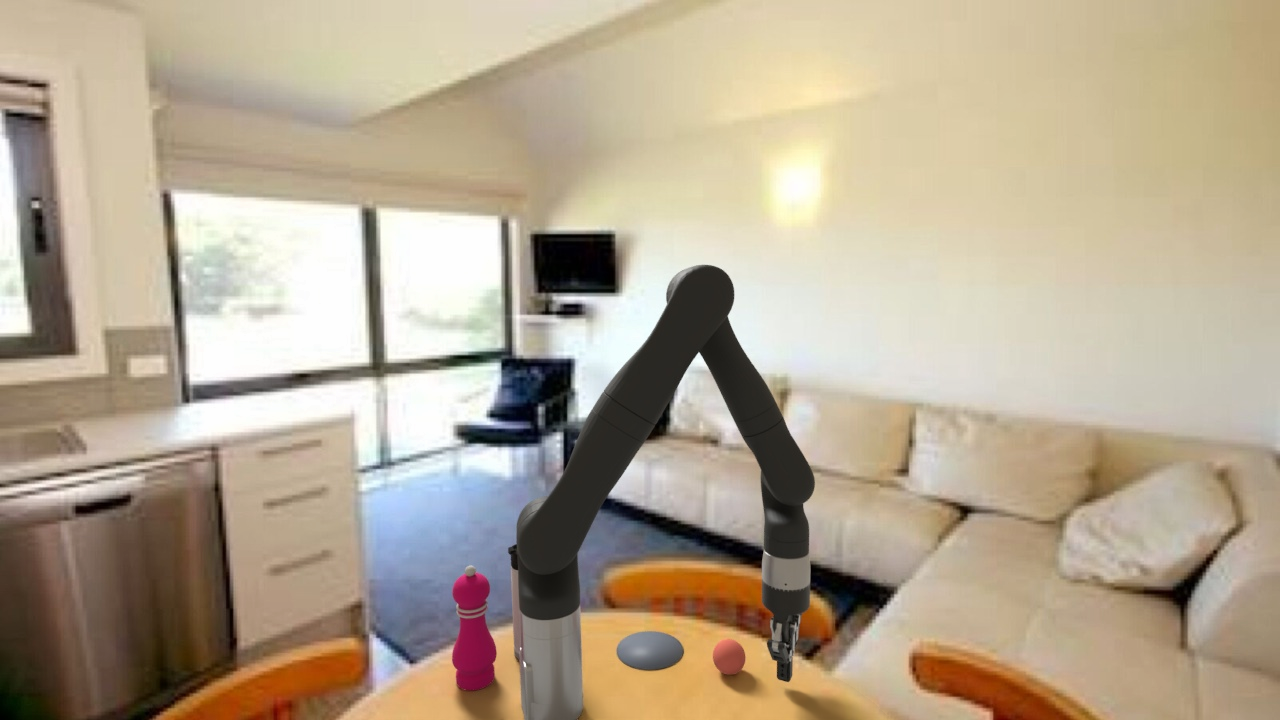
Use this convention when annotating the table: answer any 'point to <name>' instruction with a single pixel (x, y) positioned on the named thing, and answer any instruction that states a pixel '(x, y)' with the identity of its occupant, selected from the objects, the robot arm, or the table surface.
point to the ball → (729, 656)
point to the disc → (649, 650)
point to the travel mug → (515, 599)
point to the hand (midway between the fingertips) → (784, 678)
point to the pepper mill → (473, 632)
